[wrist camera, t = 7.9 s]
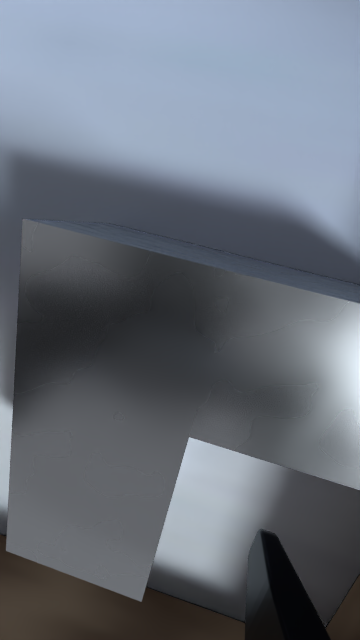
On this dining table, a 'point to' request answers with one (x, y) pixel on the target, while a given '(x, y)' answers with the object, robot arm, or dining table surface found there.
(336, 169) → the dining table surface
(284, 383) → the bracket
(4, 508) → the dining table surface
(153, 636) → the tan l-shaped wall
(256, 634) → the robot arm
